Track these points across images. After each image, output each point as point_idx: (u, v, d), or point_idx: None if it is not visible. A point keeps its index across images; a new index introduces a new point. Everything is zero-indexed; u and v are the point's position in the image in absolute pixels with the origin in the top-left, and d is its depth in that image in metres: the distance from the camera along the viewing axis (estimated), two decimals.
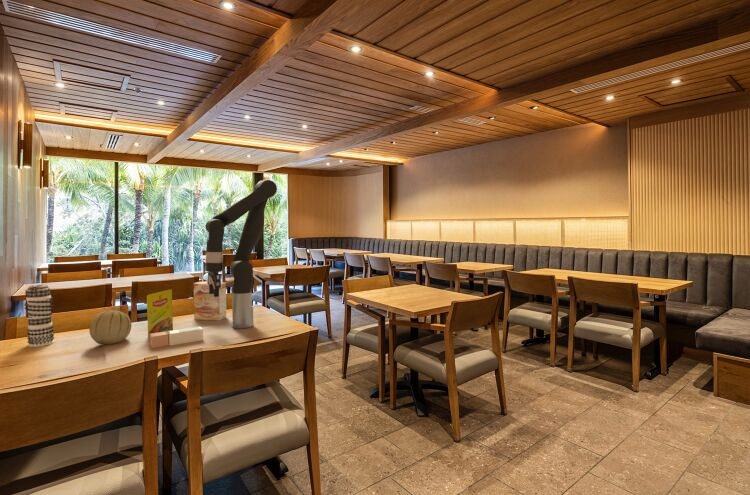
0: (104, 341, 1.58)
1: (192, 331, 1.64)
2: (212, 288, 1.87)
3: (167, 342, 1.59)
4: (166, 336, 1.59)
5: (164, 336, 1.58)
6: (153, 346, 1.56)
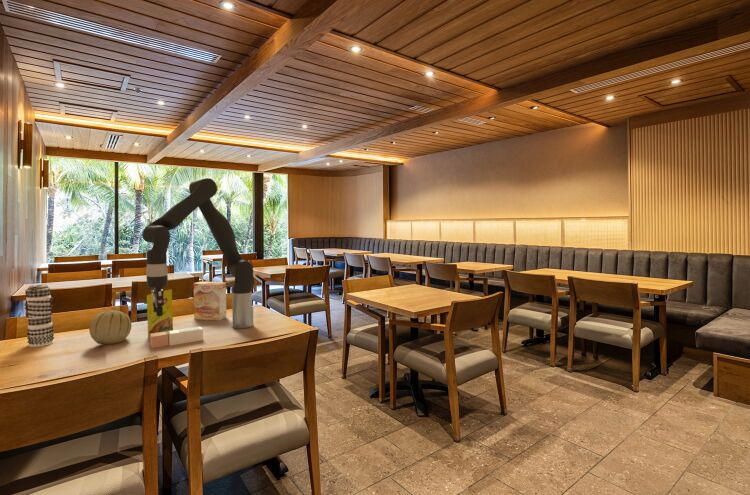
0: (104, 341, 1.58)
1: (192, 331, 1.64)
2: None
3: (167, 342, 1.59)
4: (166, 336, 1.59)
5: (164, 336, 1.58)
6: (153, 346, 1.56)
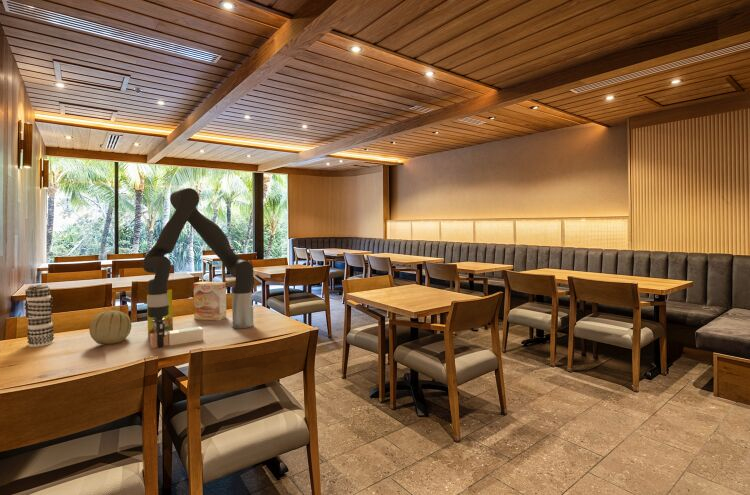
0: (104, 341, 1.58)
1: (192, 331, 1.64)
2: None
3: (167, 342, 1.59)
4: (166, 336, 1.59)
5: None
6: (153, 346, 1.56)
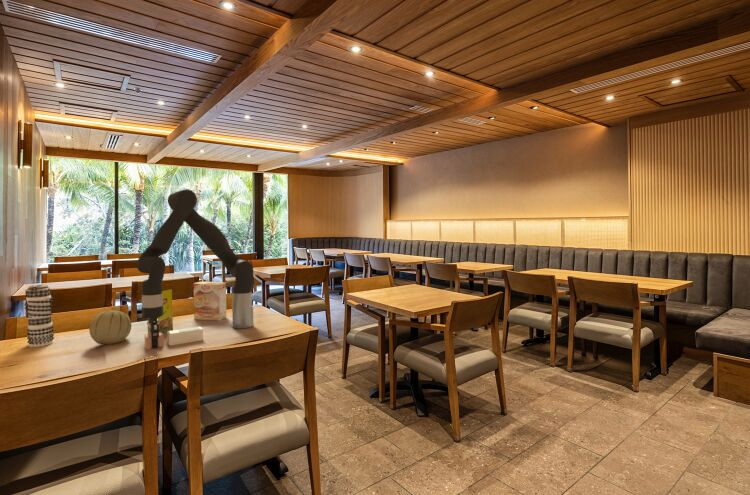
0: (104, 341, 1.58)
1: (192, 331, 1.64)
2: None
3: (162, 343, 1.58)
4: (161, 337, 1.57)
5: (159, 337, 1.57)
6: (147, 347, 1.55)
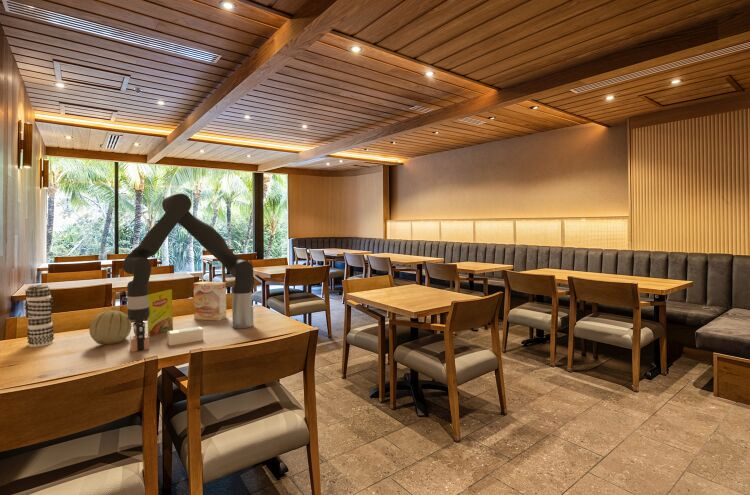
0: (104, 341, 1.58)
1: (192, 331, 1.64)
2: None
3: (148, 345, 1.55)
4: (147, 339, 1.54)
5: (145, 339, 1.54)
6: (133, 349, 1.52)
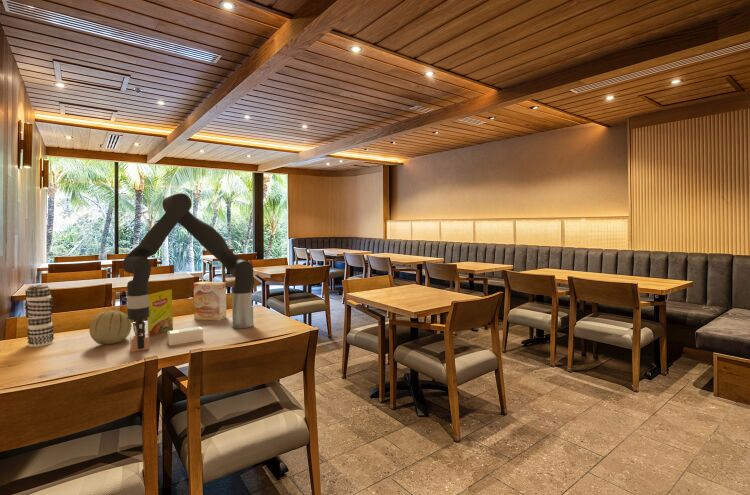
0: (104, 341, 1.58)
1: (192, 331, 1.64)
2: None
3: (148, 345, 1.55)
4: (147, 339, 1.54)
5: (144, 339, 1.54)
6: (133, 349, 1.52)
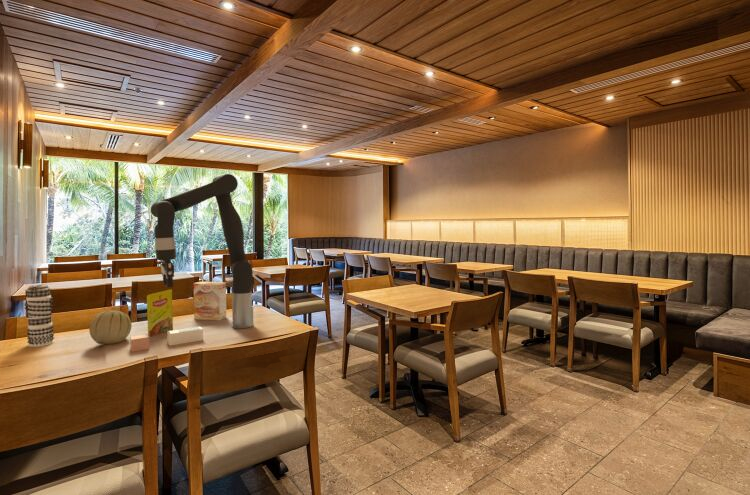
0: (104, 341, 1.58)
1: (192, 331, 1.64)
2: (166, 278, 1.70)
3: (148, 345, 1.55)
4: (147, 339, 1.54)
5: (144, 339, 1.54)
6: (133, 349, 1.52)
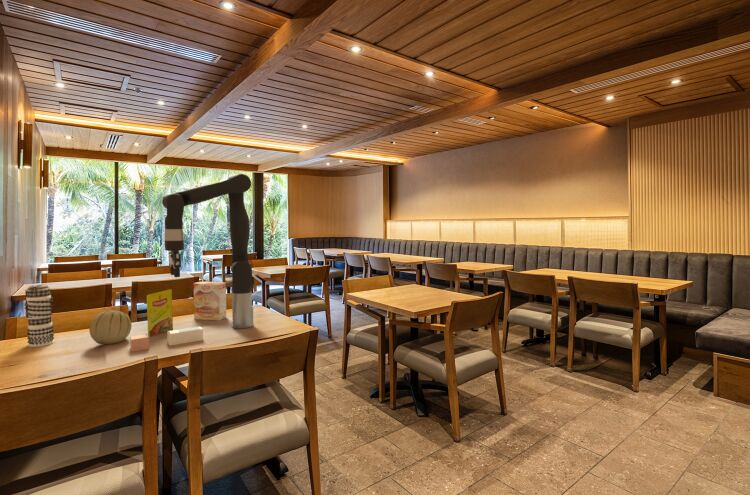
0: (104, 341, 1.58)
1: (192, 331, 1.64)
2: (174, 269, 1.74)
3: (148, 345, 1.55)
4: (147, 339, 1.54)
5: (144, 339, 1.54)
6: (133, 349, 1.52)
